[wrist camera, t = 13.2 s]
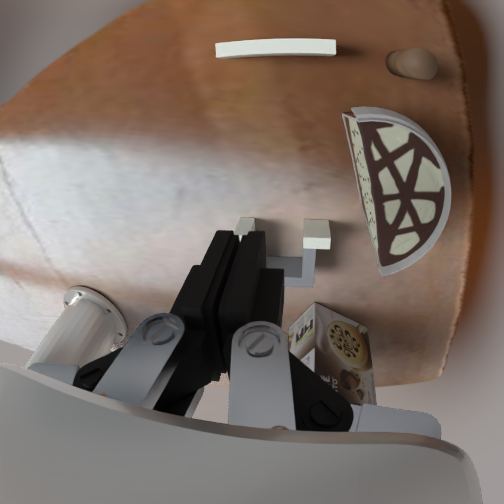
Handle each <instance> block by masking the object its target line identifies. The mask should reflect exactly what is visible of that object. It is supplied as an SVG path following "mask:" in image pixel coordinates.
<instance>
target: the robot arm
mask: <svg viewBox="0 0 504 504" xmlns="http://www.w3.org/2000/svg"><path fill="white" fill-rule="evenodd" d="M63 302H64V307H65V310H64V311H63V312H62V314H61V315H60V316H59V318H58V319H57V320H56V322H55V323H54V325H53V326H52V327H51V329H50V330H49V332H48V333H47V335H46V336H45V337H44V339H43V340H42V342H41V343H40V345H39V346H38V348H37V349H36V351H35V352H34V354H33V355H32V357H31V358H30V360H29V362H28V363H27V364H26V366H25V368H24V367H21V366H18V365H14V364H9V363H0V504H483V501H482V494H481V488H480V483H479V478H478V475H477V472H476V469H475V467H474V464H473V462H472V460H471V458H470V457H469V456H468V454H467V453H466V452H465V451H464V450H463V449H461V448H459V447H458V446H456V445H454V444H451V443H449V442H447V441H444V440H441V426H440V424H439V422H438V421H437V419H436V418H434V417H433V416H432V415H431V414H428V413H424V412H417V411H409V410H402V409H394V408H388V407H382V406H376V405H370V404H364V403H363V405H362V406H358V405H353V404H350V403H349V402H348V401H347V400H346V399H345V398H344V397H343V396H342V395H340V394H339V393H338V392H337V391H336V390H334V389H333V388H332V387H331V386H330V385H328V384H327V383H326V382H325V381H324V380H323V379H321V378H320V377H319V376H318V375H317V374H316V373H314V372H313V371H312V370H311V369H310V368H309V367H307V366H306V365H305V364H304V363H303V362H302V361H300V360H299V359H298V358H297V357H296V356H295V355H294V354H292V353H291V352H290V351H289V350H288V345H287V338H286V335H285V332H284V331H283V330H282V329H281V324H282V315H283V304H284V269H281V268H266V244H265V232H264V231H248V234H247V235H242V238H241V241H240V239H239V235H234V232H233V231H226V230H218V231H217V232H216V234H215V236H214V238H213V240H212V242H211V244H210V246H209V248H208V250H207V252H206V254H205V256H204V259H203V261H202V263H201V265H194V266H193V267H192V268H191V270H190V272H189V274H188V276H187V278H186V280H185V282H184V284H183V286H182V288H181V290H180V292H179V294H178V296H177V298H176V301H175V303H174V305H173V307H172V309H171V311H170V313H159V314H155V315H153V316H150V317H149V318H147V319H145V320H144V321H143V322H142V323H141V324H140V326H139V327H138V328H137V330H136V331H135V332H134V334H133V335H132V337H131V338H130V339H129V341H128V342H127V343H126V345H125V346H124V347H122V348H119V349H117V350H115V351H113V352H112V351H111V348H112V346H113V345H114V344H116V343H120V342H121V341H123V339H124V338H125V336H126V333H127V326H126V322H125V320H124V318H123V316H122V315H121V313H120V312H119V311H118V309H117V308H116V307H115V306H114V305H113V304H112V303H111V302H110V301H109V300H107V299H106V298H105V297H104V296H102V295H101V294H99V293H97V292H95V291H93V290H91V289H89V288H86V287H81V286H75V287H71V288H70V289H69V290H68V291H67V292H66V293H65V295H64V298H63ZM226 372H228V376H229V381H230V388H229V408H228V409H229V410H228V424H223V423H217V422H211V421H204V420H199V419H193V418H192V416H193V414H194V411H195V410H196V407H197V405H198V403H199V401H200V399H201V397H202V395H203V392H204V386H205V385H207V384H209V383H211V381H219V379H220V376H221V373H226Z"/></svg>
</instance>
